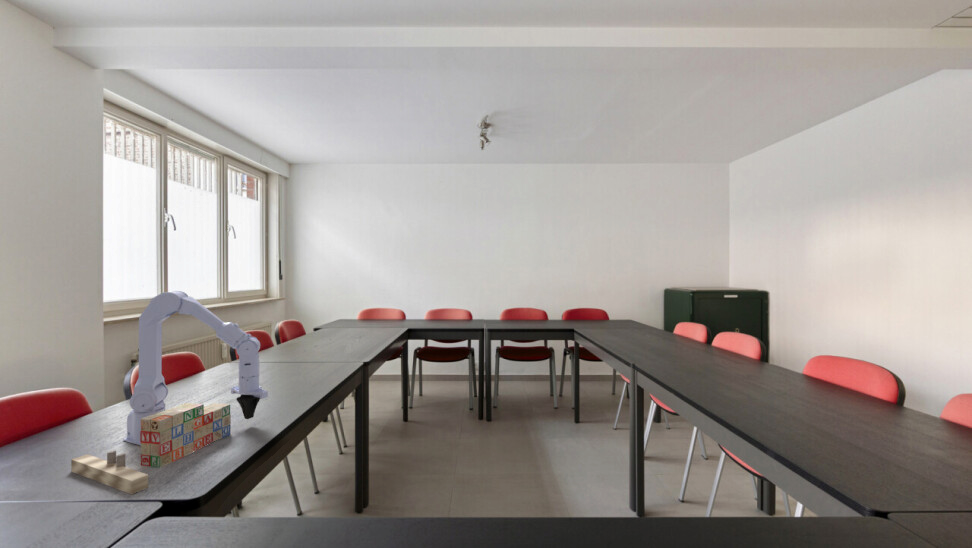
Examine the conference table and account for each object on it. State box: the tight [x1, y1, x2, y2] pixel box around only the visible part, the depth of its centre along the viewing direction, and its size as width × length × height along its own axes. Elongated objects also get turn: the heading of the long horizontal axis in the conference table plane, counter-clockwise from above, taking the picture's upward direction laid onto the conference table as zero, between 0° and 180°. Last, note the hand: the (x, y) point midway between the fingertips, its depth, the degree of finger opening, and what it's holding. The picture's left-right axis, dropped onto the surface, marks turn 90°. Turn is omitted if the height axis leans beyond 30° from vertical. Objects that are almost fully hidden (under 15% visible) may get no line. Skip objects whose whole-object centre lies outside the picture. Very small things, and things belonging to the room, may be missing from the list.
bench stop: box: [70, 450, 149, 495], centre depth 93 cm, size 26×4×6 cm, turn 68°
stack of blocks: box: [140, 402, 232, 469], centre depth 109 cm, size 21×6×12 cm, turn 169°
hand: (249, 417), depth 125 cm, fingers closed
